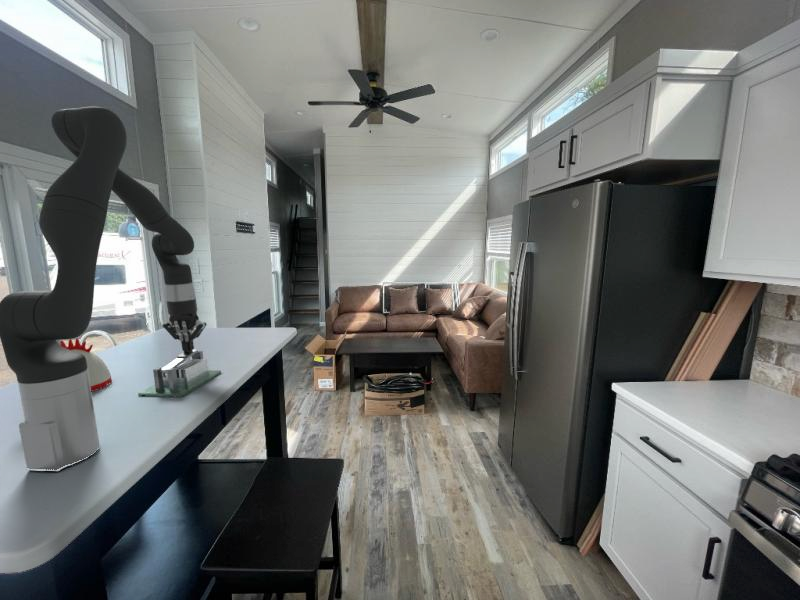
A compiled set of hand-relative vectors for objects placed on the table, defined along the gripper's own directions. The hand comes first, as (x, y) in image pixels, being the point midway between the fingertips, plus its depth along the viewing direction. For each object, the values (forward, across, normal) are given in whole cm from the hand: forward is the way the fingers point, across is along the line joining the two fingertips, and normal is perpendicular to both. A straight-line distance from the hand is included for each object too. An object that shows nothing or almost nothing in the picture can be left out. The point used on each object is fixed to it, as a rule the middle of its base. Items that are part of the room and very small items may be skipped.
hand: (188, 351), depth 103 cm
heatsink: (+9, 0, -4) cm, 10 cm away
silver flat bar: (+2, 0, -4) cm, 5 cm away
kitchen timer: (+9, -29, -8) cm, 31 cm away
